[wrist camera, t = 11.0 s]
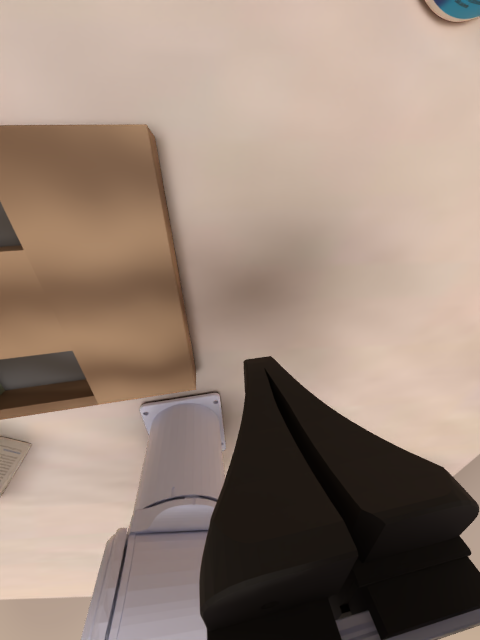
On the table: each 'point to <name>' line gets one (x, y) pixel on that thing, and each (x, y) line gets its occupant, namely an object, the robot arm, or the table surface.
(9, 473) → the light bulb box
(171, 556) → the robot arm
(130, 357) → the board
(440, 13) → the beverage bottle
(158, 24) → the table surface
